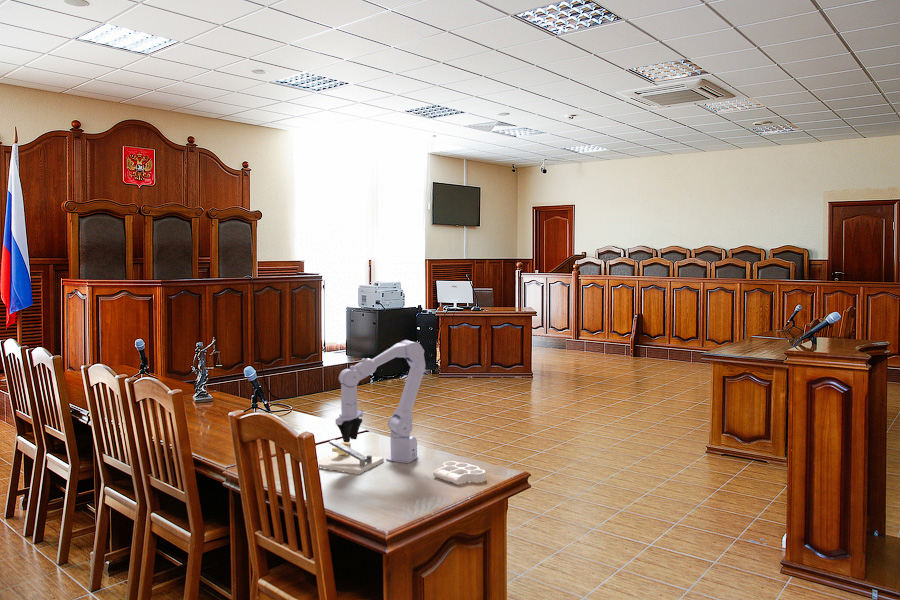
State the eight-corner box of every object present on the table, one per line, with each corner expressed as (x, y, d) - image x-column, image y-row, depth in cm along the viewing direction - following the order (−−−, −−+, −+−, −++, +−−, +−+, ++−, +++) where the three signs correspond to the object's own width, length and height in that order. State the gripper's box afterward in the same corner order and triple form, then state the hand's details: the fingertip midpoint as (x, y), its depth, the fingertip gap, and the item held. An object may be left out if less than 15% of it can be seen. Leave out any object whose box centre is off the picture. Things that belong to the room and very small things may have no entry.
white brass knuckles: (426, 477, 224) (457, 467, 234) (463, 489, 211) (494, 479, 221) (426, 467, 224) (457, 458, 234) (463, 479, 211) (494, 469, 221)
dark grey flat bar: (369, 461, 234) (370, 458, 234) (364, 464, 231) (365, 460, 231) (333, 441, 240) (334, 438, 240) (328, 443, 238) (329, 440, 237)
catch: (350, 453, 246) (350, 442, 246) (340, 458, 240) (340, 447, 240) (342, 452, 247) (342, 441, 247) (332, 457, 241) (332, 446, 241)
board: (383, 461, 241) (383, 451, 241) (359, 474, 226) (359, 462, 226) (338, 455, 249) (338, 445, 249) (312, 467, 235) (312, 456, 235)
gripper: (351, 398, 243) (352, 434, 244) (328, 405, 230) (328, 444, 230) (367, 399, 240) (368, 436, 241) (344, 407, 227) (345, 446, 227)
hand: (350, 440), depth 235 cm, fingers open, 4 cm apart
